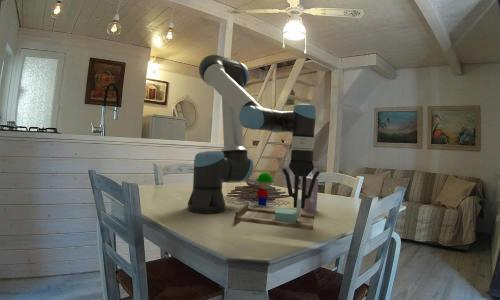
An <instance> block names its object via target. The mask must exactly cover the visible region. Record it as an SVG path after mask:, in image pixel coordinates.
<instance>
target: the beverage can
mask: <svg viewBox="0 0 500 300" xmlns="http://www.w3.org/2000/svg"><path fill="white" fill-rule="evenodd" d="M312 178H313V176H309V175H308V176H307V178H306V194H308V191H309V188H310V184H311V181H312ZM318 190H319V178H318V177H317V178H316V181H315V184H314V187H313V190H312V193H311V197H310V198H307V199H305V207H304V209H302V208H301V211H304V212H310V213H311V212H317V208H318V206H317V205H318ZM306 194H305V195H306Z"/></svg>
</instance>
